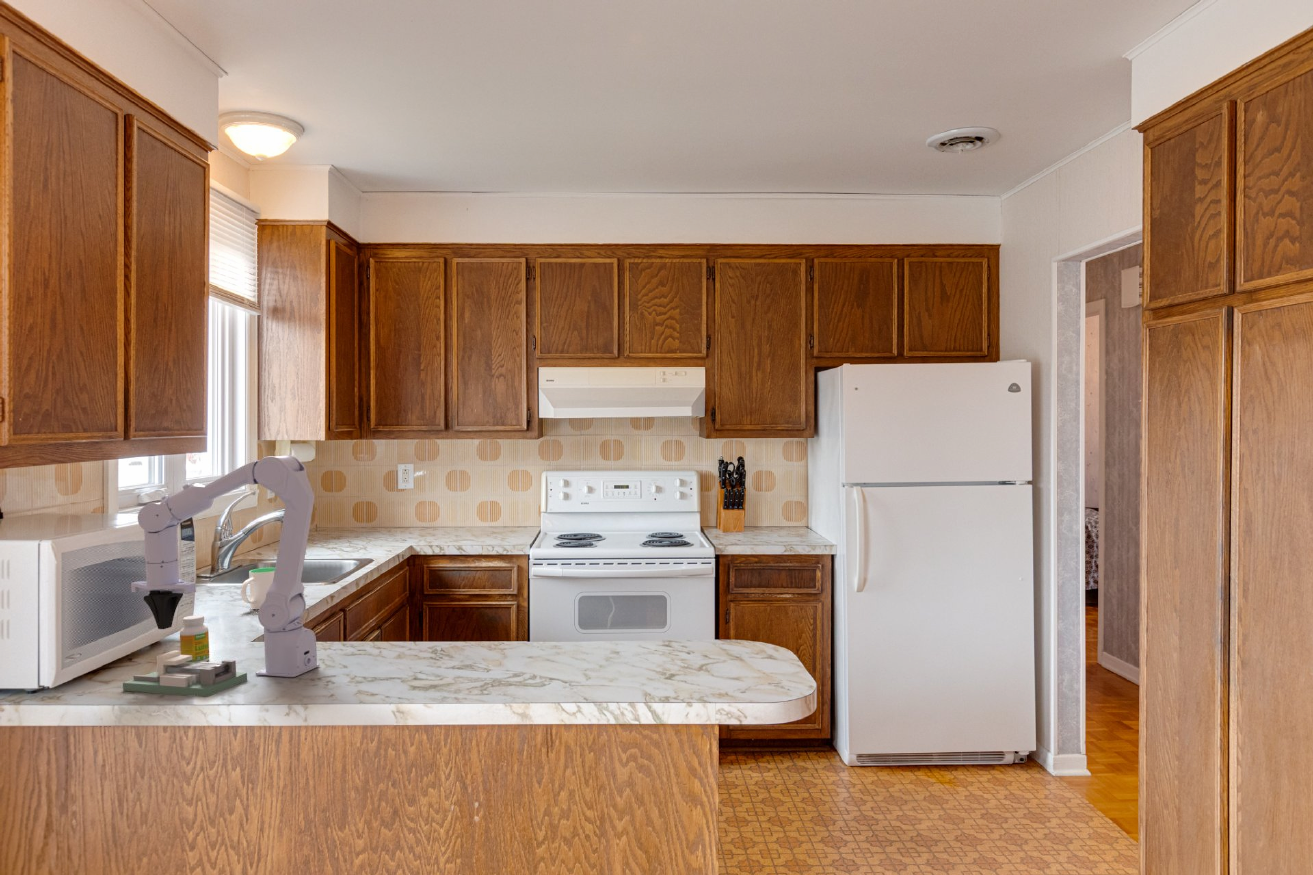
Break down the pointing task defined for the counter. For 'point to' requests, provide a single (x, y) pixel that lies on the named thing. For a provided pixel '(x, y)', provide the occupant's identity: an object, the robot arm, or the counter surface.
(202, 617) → the supplement bottle
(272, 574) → the mug
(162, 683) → the heatsink board
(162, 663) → the clip
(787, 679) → the counter surface
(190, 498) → the robot arm
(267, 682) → the counter surface
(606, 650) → the counter surface
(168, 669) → the strap
